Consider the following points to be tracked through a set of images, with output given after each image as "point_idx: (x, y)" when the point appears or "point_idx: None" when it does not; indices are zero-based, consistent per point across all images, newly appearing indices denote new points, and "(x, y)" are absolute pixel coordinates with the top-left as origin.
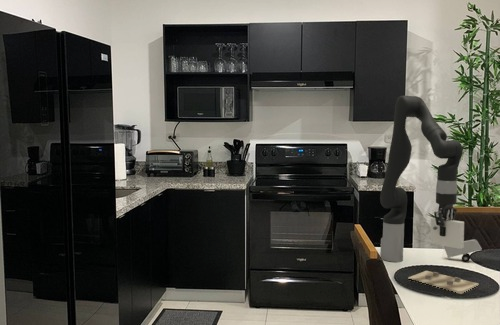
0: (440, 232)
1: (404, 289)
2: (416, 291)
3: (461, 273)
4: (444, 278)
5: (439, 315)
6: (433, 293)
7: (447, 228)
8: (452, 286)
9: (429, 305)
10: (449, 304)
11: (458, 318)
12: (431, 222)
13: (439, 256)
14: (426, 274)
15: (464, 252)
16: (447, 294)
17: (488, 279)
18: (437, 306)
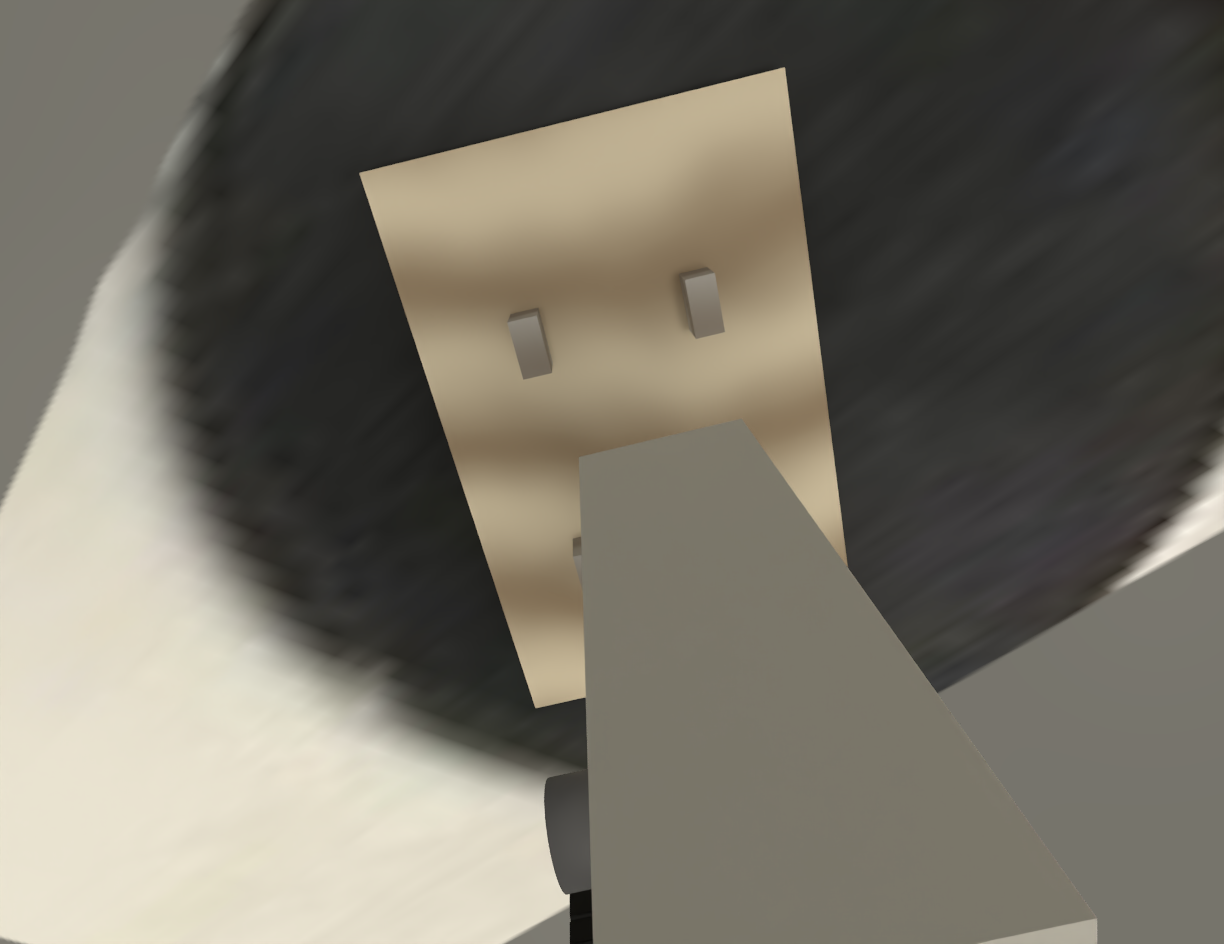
0: (576, 922)
1: (119, 403)
2: (205, 494)
3: (1100, 288)
4: (711, 399)
5: (53, 890)
6: (325, 592)
7: None
8: (575, 596)
9: (101, 756)
10: (271, 794)
11: None
12: (593, 848)
13: None
14: (651, 196)
15: None
16: (424, 653)
17: (1111, 540)
18: (150, 788)
